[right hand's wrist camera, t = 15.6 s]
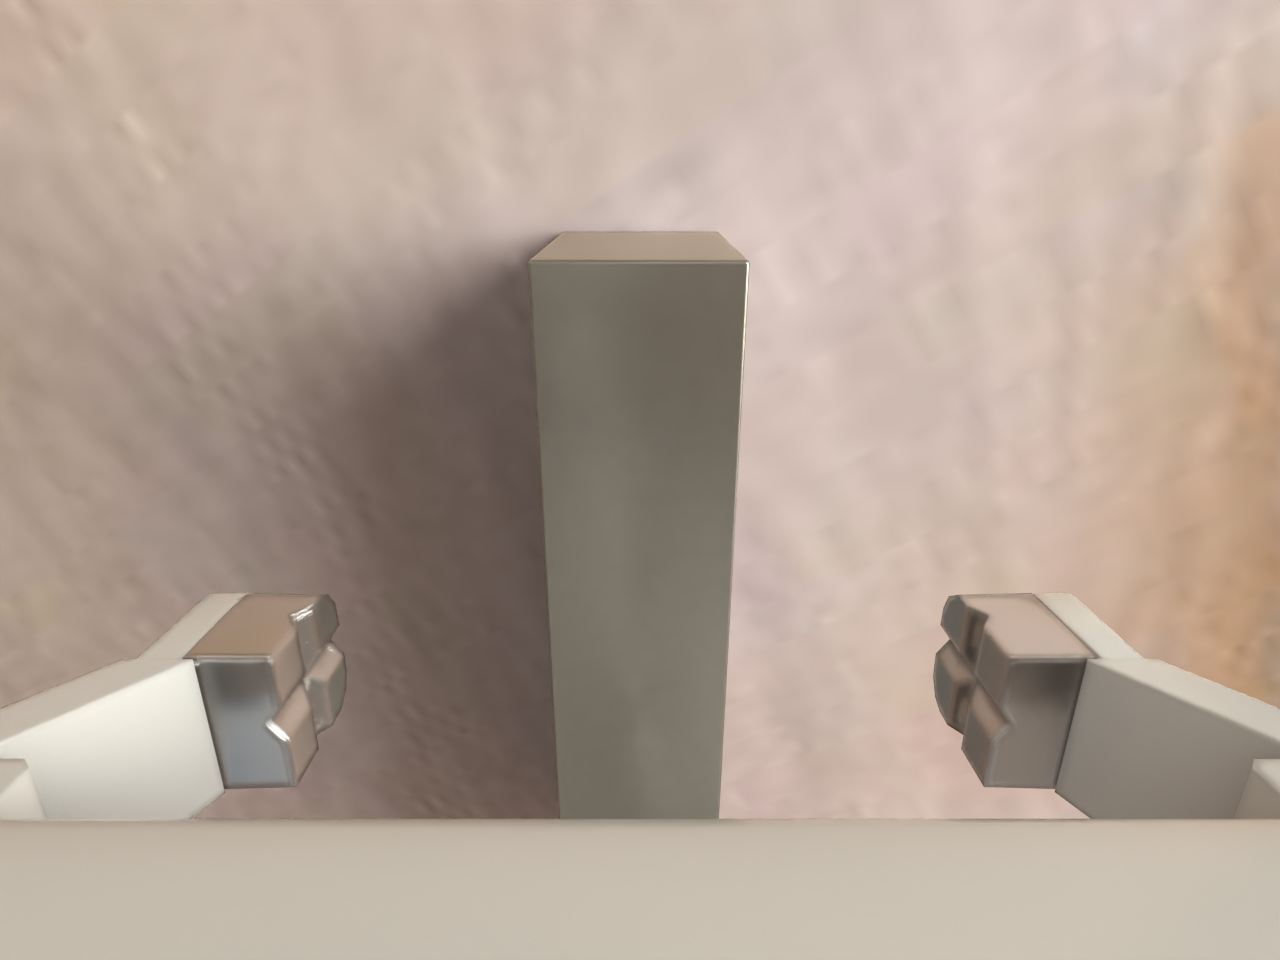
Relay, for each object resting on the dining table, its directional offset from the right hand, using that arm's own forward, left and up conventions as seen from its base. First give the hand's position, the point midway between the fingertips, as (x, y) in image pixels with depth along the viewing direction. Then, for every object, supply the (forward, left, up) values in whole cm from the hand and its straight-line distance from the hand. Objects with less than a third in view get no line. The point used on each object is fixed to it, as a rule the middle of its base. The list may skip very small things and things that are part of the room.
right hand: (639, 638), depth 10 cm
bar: (-7, +6, -17) cm, 19 cm away
